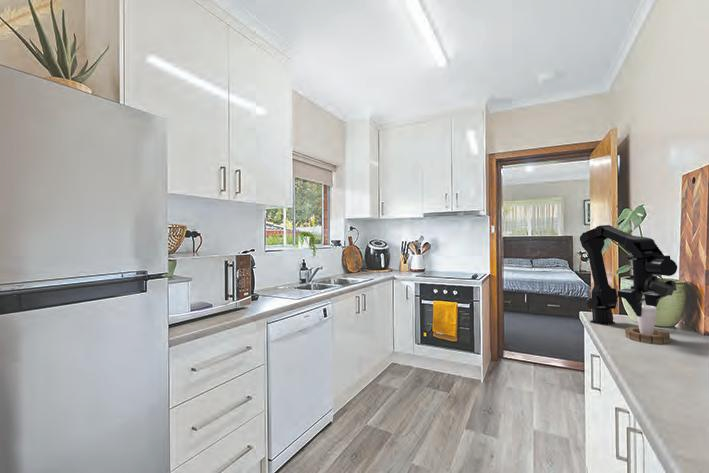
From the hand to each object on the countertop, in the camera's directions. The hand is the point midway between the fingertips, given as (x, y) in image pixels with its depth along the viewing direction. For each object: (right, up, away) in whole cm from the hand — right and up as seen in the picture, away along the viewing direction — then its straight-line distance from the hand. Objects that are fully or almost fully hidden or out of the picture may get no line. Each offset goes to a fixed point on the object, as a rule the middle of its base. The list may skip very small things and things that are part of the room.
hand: (645, 315), depth 121 cm
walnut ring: (0, -8, 0) cm, 8 cm away
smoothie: (0, -7, 0) cm, 7 cm away
